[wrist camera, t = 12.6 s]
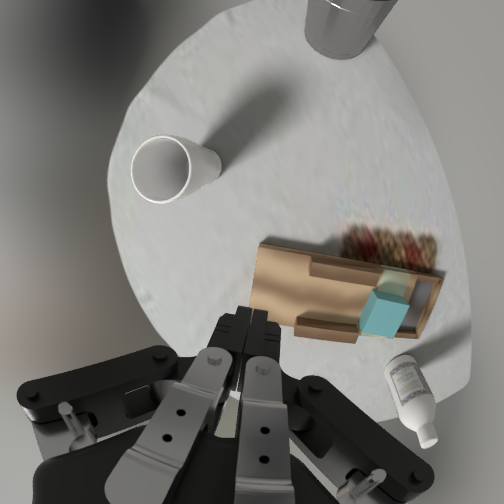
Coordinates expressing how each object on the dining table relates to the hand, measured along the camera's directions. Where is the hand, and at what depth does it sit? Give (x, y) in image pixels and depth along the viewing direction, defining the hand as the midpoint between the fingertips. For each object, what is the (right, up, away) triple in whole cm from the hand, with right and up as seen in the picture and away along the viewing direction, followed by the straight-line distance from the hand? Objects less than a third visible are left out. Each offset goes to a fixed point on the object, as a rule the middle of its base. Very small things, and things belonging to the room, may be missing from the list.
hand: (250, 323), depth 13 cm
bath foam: (+29, -19, +31) cm, 47 cm away
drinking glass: (-7, +16, +24) cm, 30 cm away
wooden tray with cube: (+16, -4, +28) cm, 32 cm away
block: (+20, -6, +26) cm, 33 cm away
